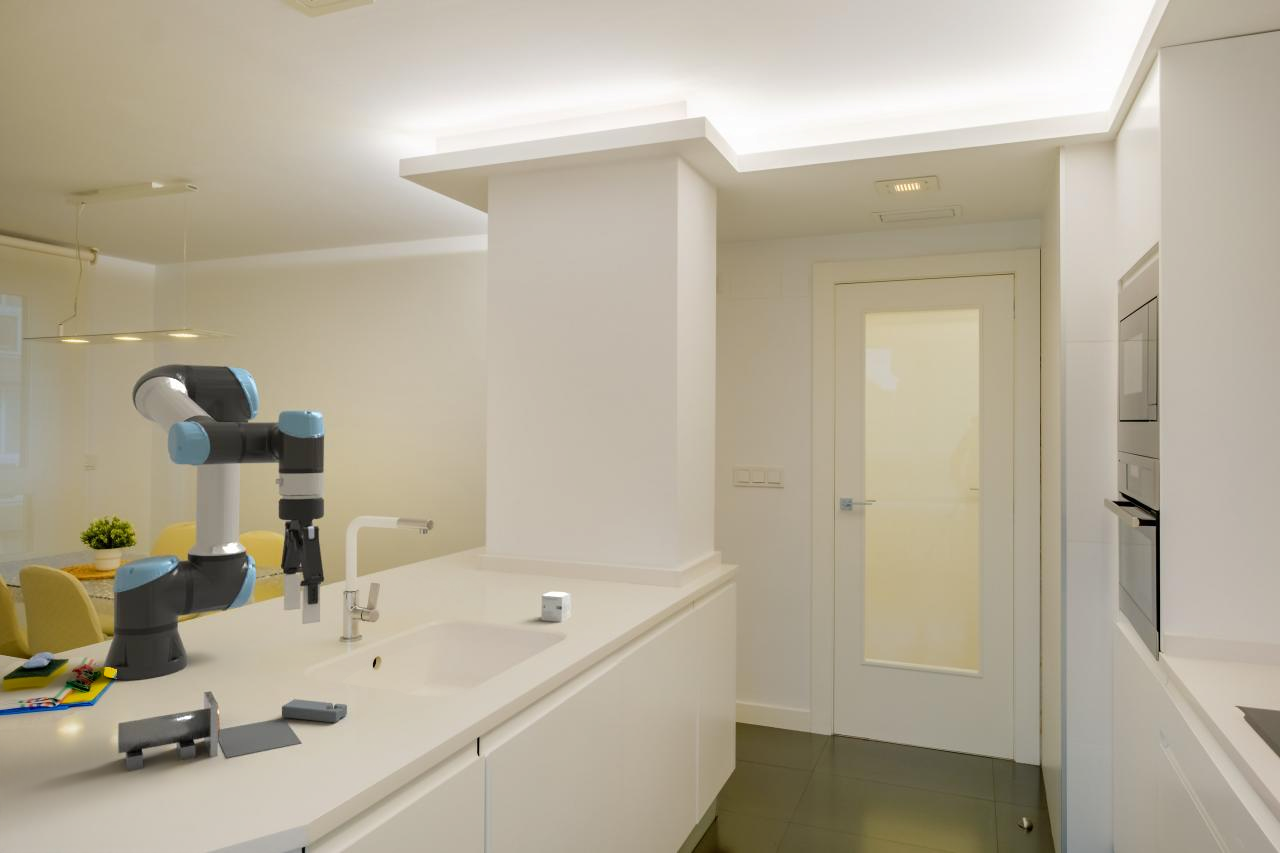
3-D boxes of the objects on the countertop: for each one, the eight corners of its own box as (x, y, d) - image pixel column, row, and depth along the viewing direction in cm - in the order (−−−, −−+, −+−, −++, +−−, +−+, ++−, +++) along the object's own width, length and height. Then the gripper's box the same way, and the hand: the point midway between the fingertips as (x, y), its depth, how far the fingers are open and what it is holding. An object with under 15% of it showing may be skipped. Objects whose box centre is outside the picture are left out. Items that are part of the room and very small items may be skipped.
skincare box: (540, 622, 221) (541, 594, 221) (550, 617, 226) (550, 590, 226) (561, 624, 219) (562, 596, 219) (571, 619, 224) (571, 592, 224)
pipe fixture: (117, 757, 129) (117, 705, 129) (213, 739, 137) (213, 690, 137) (119, 775, 123) (119, 720, 123) (220, 755, 130) (220, 704, 130)
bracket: (293, 709, 150) (294, 698, 150) (347, 715, 148) (347, 704, 148) (280, 717, 146) (281, 706, 146) (335, 723, 144) (335, 712, 144)
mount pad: (214, 731, 141) (214, 730, 141) (283, 718, 147) (283, 717, 147) (226, 758, 129) (226, 757, 129) (301, 743, 135) (301, 742, 135)
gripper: (264, 494, 157) (264, 606, 157) (296, 502, 137) (296, 631, 136) (305, 492, 161) (305, 602, 161) (343, 499, 141) (343, 625, 141)
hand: (301, 616), depth 149 cm, fingers open, 13 cm apart
